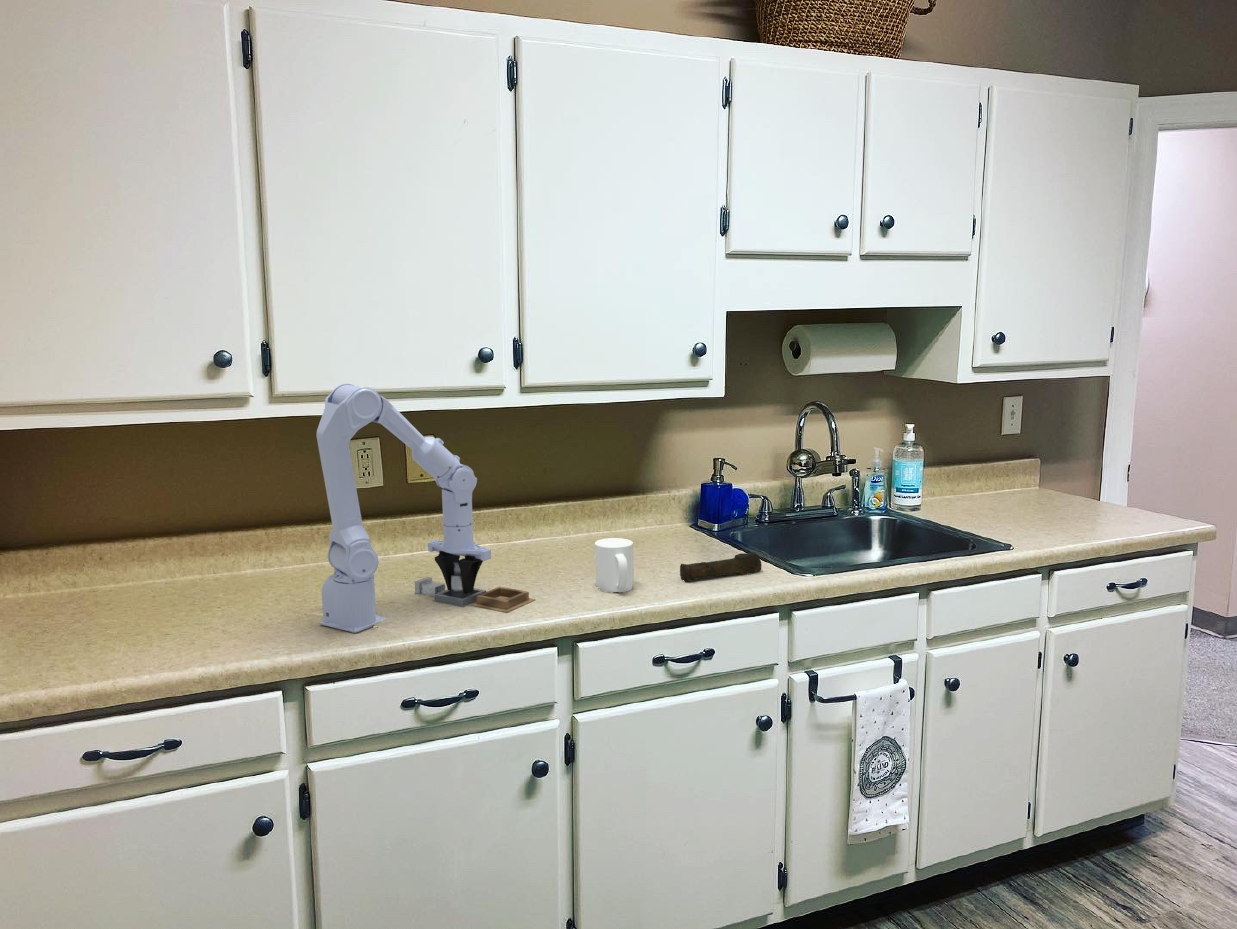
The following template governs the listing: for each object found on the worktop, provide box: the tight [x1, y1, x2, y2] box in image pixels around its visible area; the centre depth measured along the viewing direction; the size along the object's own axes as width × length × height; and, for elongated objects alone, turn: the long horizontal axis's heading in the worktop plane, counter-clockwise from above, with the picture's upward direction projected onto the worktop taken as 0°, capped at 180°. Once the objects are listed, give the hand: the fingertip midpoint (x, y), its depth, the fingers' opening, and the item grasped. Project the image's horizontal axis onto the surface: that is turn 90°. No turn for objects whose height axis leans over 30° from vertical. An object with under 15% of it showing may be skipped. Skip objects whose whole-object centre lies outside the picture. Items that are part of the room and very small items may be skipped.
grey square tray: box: [432, 587, 487, 608], centre depth 190 cm, size 8×8×2 cm
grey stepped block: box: [414, 576, 446, 598], centre depth 193 cm, size 5×4×3 cm
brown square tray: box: [469, 586, 536, 614], centre depth 187 cm, size 9×9×2 cm
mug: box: [594, 537, 635, 593], centre depth 197 cm, size 12×9×8 cm
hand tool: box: [679, 552, 762, 583], centre depth 205 cm, size 19×4×5 cm, turn 109°
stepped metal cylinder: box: [451, 560, 470, 599], centre depth 189 cm, size 4×4×8 cm
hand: (460, 590), depth 189 cm, fingers closed on stepped metal cylinder, 4 cm apart
